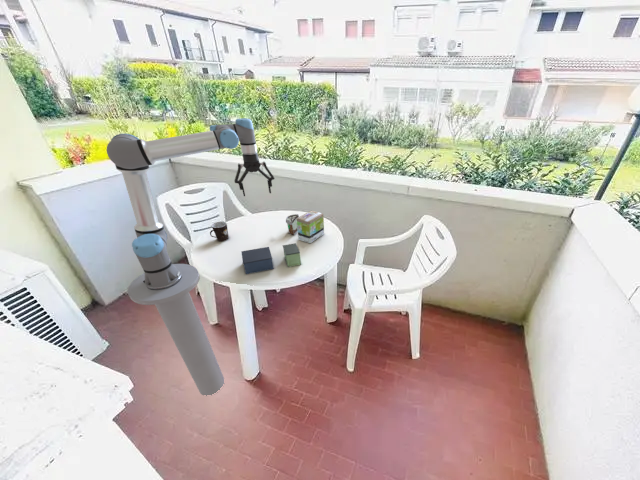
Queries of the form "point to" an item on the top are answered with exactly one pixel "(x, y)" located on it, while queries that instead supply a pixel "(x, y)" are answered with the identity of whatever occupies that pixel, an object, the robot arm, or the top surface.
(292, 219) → the food container
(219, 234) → the coffee mug
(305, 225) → the tea box
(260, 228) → the top surface
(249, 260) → the blue tub
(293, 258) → the green box
